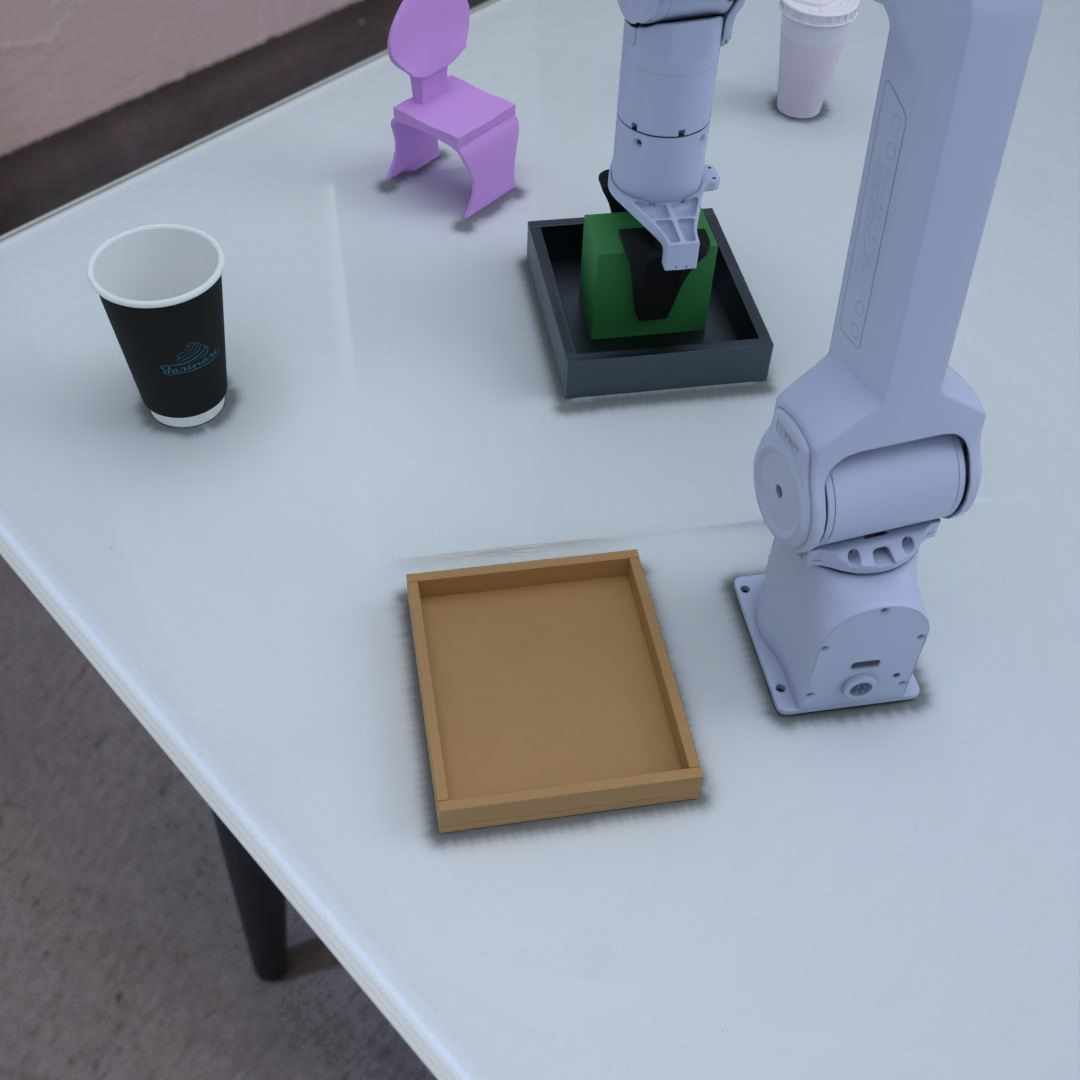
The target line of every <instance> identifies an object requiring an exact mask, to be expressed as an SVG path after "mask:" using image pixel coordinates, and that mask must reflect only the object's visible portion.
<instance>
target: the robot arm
mask: <svg viewBox="0 0 1080 1080" xmlns="http://www.w3.org/2000/svg"><path fill="white" fill-rule="evenodd" d="M616 1H617V5H618V7H619V9H620V12H621V14H622V16H623V17H624V20H623V29H622V30H623V33H622V45H621V56H620V67H619V68H620V69H619V80H618V91H617V105H616V117H615V118H616V119H615V128H614V129H615V130H614V143H613V154H612V159H611V162H610V166H609V168H608V169H605V170H603V171H601V172H600V173H599V174H598V176H597V177H598V178H597V179H598V183H599V185H600V188H601V191H602V193H603V194H604V197H605V199H606V201H607V203H608V207H609V209H610V213H618V212H629V213H630V214H632V215H633V216H634V217H635V218H636V219H637V220H638V221H639V222H640V223H641V224H642V225H643V226H644V227H641V228H628V229H619V232H618V235H619V238H620V241H621V244H622V246H623V249H624V251H625V254H626V256H627V258H628V260H629V263H630V268H631V274H632V288H633V302H634V308H635V312H636V316H637V318H638V320H639V321H646V320H658V319H666V318H667V317H668V315H669V313H670V311H671V309H672V307H673V305H674V303H675V300H676V298H677V296H678V293H679V291H680V289H681V287H682V285H683V283H684V281H685V280H686V278H687V276H688V275H689V273H690V272H691V271H692V270H693V268H696V266H697V264H698V263H699V262H700V261H701V260H702V259H703V258H704V257H705V256H706V255H707V254H708V251H709V248H710V239H709V237H708V235H707V232H706V230H705V228H704V229H697V225H698V219H699V213H700V208H702V201H703V197H704V194H705V193H706V192H713V191H717V190H718V189H719V188H720V182H721V177H720V175H719V173H718V171H717V169H716V167H715V166H714V165H711V164H706V163H705V159H706V153H707V145H708V140H709V139H708V137H709V131H710V125H711V116H712V110H713V103H714V95H715V88H716V81H717V74H718V67H719V59H720V53H721V48H722V47H725V45H727V44H728V43H729V41H730V40H732V37H733V29H734V23H735V20H736V17H737V15H738V13H739V12H740V11H741V10H742V8H743V7H744V5H745V3H746V0H616ZM873 2H875V3H878V4H880V5H882V7H883V9H884V11H885V13H886V15H887V18H888V22H889V23H888V26H889V29H888V34H887V38H886V39H887V40H886V45H885V50H884V55H883V61H882V65H881V72H880V77H879V83H878V87H877V93H876V98H875V103H874V109H873V114H872V118H871V119H872V120H871V126H870V129H869V130H870V131H869V135H868V140H867V141H868V142H867V147H866V152H865V157H864V163H863V167H862V168H863V169H862V173H861V179H860V182H859V183H860V184H859V188H858V194H857V200H856V205H855V210H854V216H853V222H852V227H851V232H850V237H849V243H848V248H847V253H846V260H845V264H844V269H843V275H842V280H841V284H840V291H839V296H838V302H837V305H836V306H837V307H836V311H835V317H834V323H833V328H832V333H831V338H830V345H829V349H828V352H827V354H826V355H825V356H823V357H822V358H821V359H820V360H819V361H818V362H817V363H815V364H814V365H813V366H812V367H810V368H809V369H808V370H807V371H806V372H804V373H803V374H802V375H800V376H799V377H798V378H797V379H795V380H794V381H793V382H791V384H790V385H789V386H788V387H786V388H785V389H784V390H783V391H781V392H780V393H779V394H778V396H777V397H776V399H775V405H774V411H773V415H772V419H771V422H770V425H769V427H768V428H767V430H766V431H765V432H764V434H763V435H762V437H761V438H760V442H759V445H758V446H757V448H756V450H755V455H754V458H753V472H752V473H753V474H752V475H753V485H754V493H755V498H756V502H757V505H758V508H759V511H760V514H761V516H762V518H763V521H764V523H765V526H766V527H767V528H768V531H769V532H770V533H771V535H772V536H773V539H772V544H771V548H770V550H769V551H770V552H769V554H768V555H769V556H768V559H767V564H766V568H765V572H764V573H761V574H760V573H759V574H749V575H741V576H737V577H736V578H735V579H734V580H733V584H732V586H733V589H734V592H735V595H736V599H737V601H738V604H739V608H740V610H741V613H742V615H743V618H744V622H745V624H746V628H747V630H748V633H749V635H750V638H751V641H752V643H753V647H754V649H755V652H756V654H757V655H756V656H757V658H758V661H759V664H760V666H761V669H762V673H763V675H764V678H765V681H766V684H767V686H768V689H769V692H770V695H771V698H772V702H773V704H774V706H775V710H776V711H777V712H778V713H779V714H781V715H783V716H784V715H785V716H789V715H798V714H804V713H812V712H813V713H814V712H819V711H820V712H821V711H828V710H837V709H843V708H850V707H851V708H852V707H859V706H868V705H874V704H875V705H876V704H882V703H883V704H884V703H890V702H898V701H899V702H900V701H906V700H907V701H908V700H914V699H916V698H917V697H918V696H919V694H920V690H921V688H920V686H919V683H918V682H917V679H916V677H915V674H914V671H915V669H916V666H917V664H918V660H919V658H920V656H921V654H922V651H923V649H924V646H925V644H926V642H927V640H928V636H929V633H930V627H931V625H930V620H929V616H928V614H927V610H926V609H925V606H924V603H923V600H922V598H921V595H920V590H919V584H918V578H917V574H918V573H917V570H918V569H917V568H918V567H917V566H918V565H917V563H918V561H917V560H918V556H919V552H920V551H919V550H920V546H921V545H922V544H923V543H924V542H925V541H926V540H929V539H931V538H935V536H936V534H937V532H938V529H939V526H940V523H941V519H955V518H958V517H961V516H963V515H964V514H966V513H967V512H968V511H969V510H970V509H971V507H972V506H973V504H974V502H975V500H976V499H977V496H978V493H979V490H980V485H981V480H982V474H983V460H982V452H981V438H982V433H983V429H984V425H985V422H986V418H987V412H986V410H985V408H984V407H983V404H982V402H981V400H980V398H979V397H978V395H977V393H976V391H975V390H974V389H973V388H972V386H971V385H970V384H969V382H968V381H967V380H966V379H965V378H964V377H963V376H962V375H961V374H960V373H958V371H956V370H955V369H954V368H952V367H951V366H950V365H949V363H950V359H951V355H952V351H953V348H954V344H955V340H956V337H957V333H958V329H959V325H960V322H961V317H962V315H963V310H964V306H965V302H966V298H967V295H968V291H969V287H970V284H971V280H972V275H973V272H974V268H975V265H976V260H977V257H978V253H979V249H980V245H981V242H982V238H983V234H984V230H985V227H986V223H987V220H988V215H989V212H990V207H991V204H992V200H993V197H994V193H995V189H996V186H997V182H998V178H999V173H1000V170H1001V166H1002V163H1003V158H1004V155H1005V151H1006V148H1007V145H1008V140H1009V136H1010V133H1011V128H1012V125H1013V121H1014V117H1015V114H1016V110H1017V106H1018V102H1019V98H1020V94H1021V91H1022V87H1023V83H1024V80H1025V76H1026V75H1025V74H1026V71H1027V68H1028V64H1029V61H1030V58H1031V57H1030V56H1031V53H1032V49H1033V45H1034V42H1035V38H1036V34H1037V30H1038V27H1039V22H1040V19H1041V16H1042V15H1041V14H1042V11H1043V6H1044V0H873ZM745 591H746V592H745ZM778 689H779V690H782V691H778Z"/></svg>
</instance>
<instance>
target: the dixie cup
mask: <svg viewBox="0 0 1080 1080" xmlns="http://www.w3.org/2000/svg"><path fill="white" fill-rule="evenodd" d="M225 265H226V256H225V252H224V249H223V248H222V246H221V244H220V243H219V242H218V240H217V239H216V238H214V237H213V236H212V235H211V234H209V233H207V232H205V231H203V230H201V229H198V228H195V227H193V226H189V225H184V224H179V223H178V224H176V223H157V224H156V223H154V224H153V223H152V224H146V225H141V226H137V227H133V228H129V229H128V230H124V231H122V232H121V231H120V232H119V233H117V234H115V235H113V236H112V237H109V238H108V239H107V240H105V241H104V242H102V244H100V245H99V246H98V247H97V248H96V249H95V250H94V251H93V253H92V254H91V256H90V257H89V259H88V262H87V266H86V278H87V281H88V283H89V285H90V287H91V288H92V290H93V291H94V292H95V293H96V294H97V295H98V297H99V299H100V301H101V303H102V306H103V309H104V311H105V313H106V314H105V315H106V316H107V318H108V321H109V323H110V325H111V328H112V330H113V332H114V335H115V338H116V340H117V342H118V345H119V348H120V349H121V352H122V354H123V357H124V360H125V362H126V365H127V366H128V368H129V371H130V374H131V376H132V379H133V381H134V383H135V385H136V388H137V391H138V392H139V395H140V398H141V400H142V402H143V403H144V406H146V408H148V410H149V411H150V413H151V414H152V416H153V417H154V419H156V420H157V422H159V423H160V424H163V425H166V426H170V427H175V428H191V427H195V426H199V425H202V424H205V423H207V422H208V421H209V422H210V420H212V419H214V418H215V417H216V416H217V415H218V414H219V413H221V411H222V409H223V408H224V405H225V400H226V399H225V398H226V397H225V396H226V394H227V391H228V373H227V372H228V369H227V351H226V350H227V349H226V333H225V329H226V328H225V314H224V295H223V293H224V292H223V272H224V270H225Z"/></svg>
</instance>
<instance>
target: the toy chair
mask: <svg viewBox="0 0 1080 1080" xmlns="http://www.w3.org/2000/svg"><path fill="white" fill-rule="evenodd" d="M470 16H471V11H470V4H469V1H468V0H402V2H401V3H400V5H399V6H398V9H397V11H396V13H395V15H394V17H393V20H392V23H391V25H390V29H389V33H388V36H387V42H386V45H387V47H386V49H387V54H388V58H389V60H390V62H391V63H392V64H393V65H394V66H395V67H396V68H397V69H399V70H401V71H402V72H404V73H405V74H407V75H408V76H409V78H410V85H411V87H410V88H411V93H412V97H409V98H408V99H405V100H403V101H402V102H399V103H398V104H396V105H394V106H393V107H392V109H393V118H392V119H391V121H390V127H391V131H392V135H393V139H394V153H393V158H392V161H391V164H390V167H389V170H388V172H387V175H386V179H388V180H390V179H392V178H394V177H395V176H397V175H399V174H401V173H402V172H415V171H417V170H418V169H420V168H422V167H423V166H425V165H427V164H428V163H430V162H432V161H433V160H435V159H436V158H438V157H440V155H441V150H440V145H439V141H440V142H442V143H443V144H445V145H447V146H449V147H450V148H452V149H453V150H454V151H455V152H457V155H458V156H459V158H460V159H461V162H462V164H463V165H464V166H465V169H466V170H467V173H468V175H469V177H470V181H471V193H470V194H471V195H470V198H469V201H468V205H467V207H466V209H465V212H464V214H463V218H464V219H468V218H470V217H471V216H473V215H474V214H476V213H477V212H479V211H480V210H482V209H484V208H485V207H486V206H488V205H490V204H491V203H492V202H494V201H496V200H497V199H499V198H500V197H502V196H503V195H504V194H507V193H508V192H509V191H511V190H512V189H514V188H515V187H516V177H515V176H516V175H515V169H516V167H515V165H516V155H517V149H518V143H519V135H520V122H519V118H518V117H517V115H516V109H517V108H516V107H517V106H516V105H517V104H516V103H514V102H511V101H510V100H509V99H505V98H503V97H501V96H497V95H495V94H492V93H489V92H487V91H485V90H483V89H481V88H479V87H476V86H474V85H473V84H472V83H469V82H467V81H465V80H464V79H461V78H459V77H458V76H455V75H452V74H450V75H448V68H449V66H450V65H451V64H452V63H453V62H454V61H455V60H456V59H457V58H458V57H459V56H460V55H461V54H462V53H463V51H464V50H465V49H466V48H467V41H468V35H469V27H470V19H471V17H470Z"/></svg>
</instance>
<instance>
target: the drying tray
mask: <svg viewBox="0 0 1080 1080" xmlns="http://www.w3.org/2000/svg"><path fill="white" fill-rule="evenodd" d="M405 577H406V579H405V580H406V592H407V602H408V609H409V611H408V612H409V617H410V625H411V633H412V639H413V645H414V646H413V647H414V654H415V663H416V669H417V676H418V677H417V678H418V685H419V691H420V692H419V693H420V699H421V706H422V714H423V722H424V728H425V736H426V744H427V751H428V758H429V765H430V766H429V767H430V774H431V775H430V776H431V781H432V790H433V797H434V805H435V812H436V818H437V819H436V820H437V826H438V832H439V834H445V833H451V832H459V831H465V830H474V829H480V828H488V827H495V826H496V827H497V826H503V825H510V824H517V823H523V822H525V823H526V822H532V821H538V820H547V819H553V818H561V817H570V816H576V815H585V814H591V813H599V812H607V811H612V810H613V811H615V810H621V809H628V808H635V807H642V806H650V805H657V804H664V803H665V804H666V803H672V802H679V801H688V800H694V799H695V800H696V799H698V798H699V797H700V792H701V789H702V785H703V780H704V772H703V770H702V767H701V762H700V759H699V757H698V752H697V749H696V745H695V742H694V738H693V735H692V733H691V732H692V731H691V729H690V728H691V727H690V726H689V722H688V718H687V716H686V711H685V708H684V705H683V702H682V697H681V694H680V692H679V688H678V685H677V681H676V678H675V675H674V671H673V667H672V664H671V661H670V657H669V653H668V651H667V647H666V644H665V641H664V637H663V633H662V630H661V627H660V622H659V619H658V616H657V613H656V609H655V606H654V603H653V600H652V599H653V598H652V595H651V593H650V589H649V585H648V583H647V578H646V575H645V571H644V569H643V566H642V561H641V559H640V555H639V551H638V549H637V548H636V549H627V550H619V551H618V550H617V551H609V552H600V553H591V554H590V553H589V554H580V555H572V556H561V557H554V558H544V559H543V558H542V559H536V560H527V561H526V560H525V561H517V562H507V563H498V564H490V565H480V566H469V567H463V568H451V569H443V570H434V571H433V570H432V571H424V572H415V573H406V574H405Z"/></svg>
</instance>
